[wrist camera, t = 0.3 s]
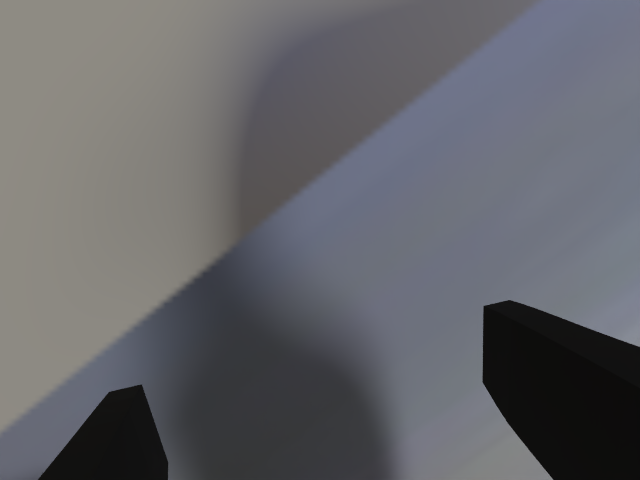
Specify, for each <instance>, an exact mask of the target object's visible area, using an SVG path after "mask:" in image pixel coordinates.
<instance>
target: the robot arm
mask: <svg viewBox="0 0 640 480" xmlns="http://www.w3.org/2000/svg"><path fill="white" fill-rule="evenodd" d="M483 384H484V385H485V387H486V389H487V390H488V392H489V394H490V395H491V397H492V399H493V400H494V402H495V404H496V405H497V407H498V408H499V410H500V412H501V413H502V415H503V416H504V418H505V419H506V421H507V422H508V424H509V425H510V426H511V428H512V429H513V430H514V431H515V433H516V434H517V435H518V437H519V438H520V439H521V440H522V442H523V443H524V444H525V445H526V447H527V448H528V449H529V450H530V452H531V453H532V454H533V455H534V456H535V458H536V459H537V460H538V461H539V463H540V464H541V465H542V466H543V468H544V469H545V470H546V471H547V472H548V474H549V475H550V476H551V477H552V479H553V480H640V347H638V346H635V345H632V344H629V343H627V342H624V341H621V340H618V339H615V338H613V337H610V336H607V335H605V334H602V333H599V332H596V331H594V330H591V329H588V328H586V327H583V326H581V325H578V324H575V323H573V322H570V321H567V320H565V319H562V318H560V317H557V316H554V315H552V314H549V313H546V312H544V311H541V310H538V309H535V308H533V307H530V306H527V305H524V304H521V303H518V302H514V301H511V300H508V301H503V302H499V303H495V304H490V305H486V306H484V314H483ZM38 480H168V461H167V458H166V455H165V452H164V449H163V446H162V443H161V440H160V437H159V434H158V431H157V428H156V425H155V422H154V419H153V416H152V413H151V410H150V407H149V404H148V401H147V399H146V396H145V393H144V390H143V387H142V385H137V386H133V387H129V388H124V389H120V390H115V391H111V392H109V393H108V394H107V395H106V396H105V398H104V399H103V400H102V401H101V402H100V404H99V405H98V406H97V407H96V409H95V410H94V411H93V412H92V414H91V415H90V416H89V417H88V419H87V420H86V421H85V422H84V424H83V425H82V426H81V427H80V429H79V430H78V431H77V432H76V434H75V435H74V436H73V437H72V439H71V440H70V441H69V442H68V444H67V445H66V446H65V447H64V449H63V450H62V451H61V452H60V453H59V455H58V456H57V457H56V458H55V460H54V461H53V462H52V463H51V464H50V466H49V467H48V468H47V469H46V471H45V472H44V473H43V474H42V475H41V477H40V478H39V479H38Z"/></svg>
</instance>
